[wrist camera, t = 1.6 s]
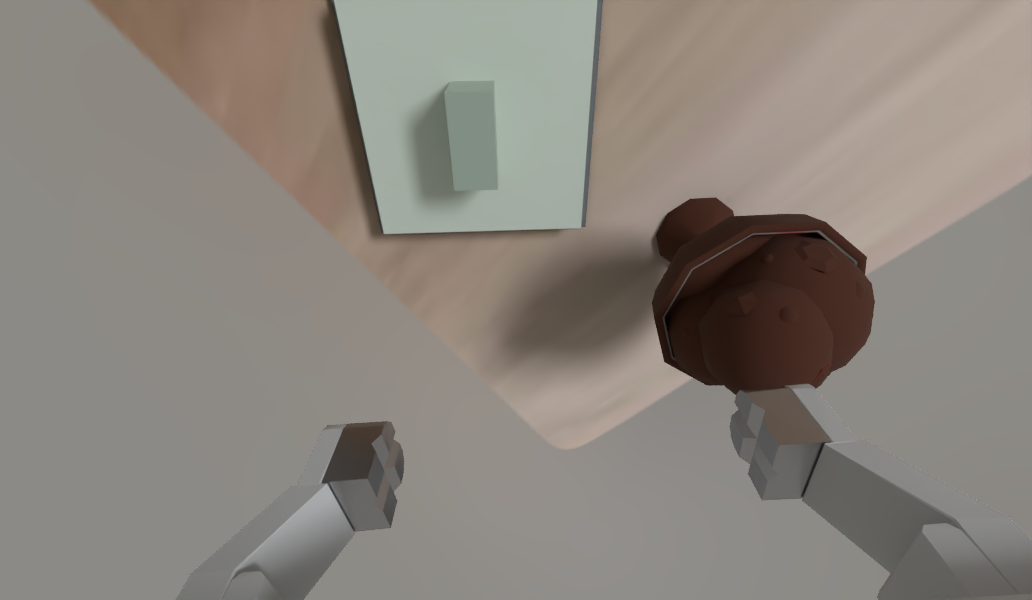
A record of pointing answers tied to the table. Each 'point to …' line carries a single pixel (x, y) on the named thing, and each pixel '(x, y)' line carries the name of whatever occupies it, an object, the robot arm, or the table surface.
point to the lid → (473, 110)
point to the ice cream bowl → (758, 297)
